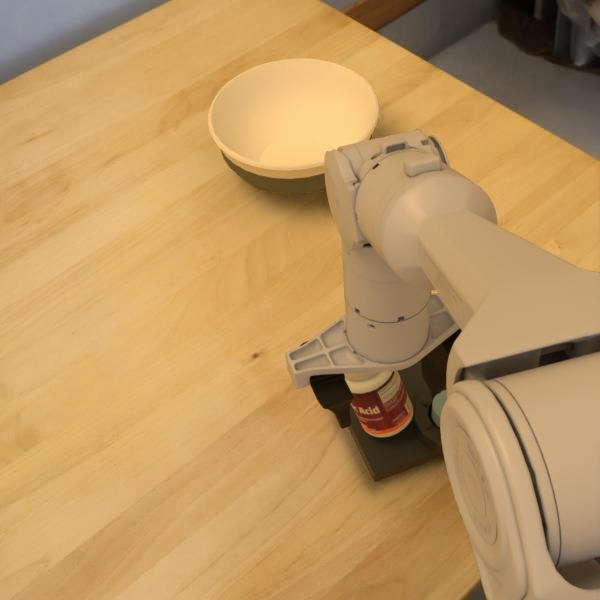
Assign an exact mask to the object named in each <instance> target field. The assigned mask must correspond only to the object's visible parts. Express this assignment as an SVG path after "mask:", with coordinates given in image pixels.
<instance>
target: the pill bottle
mask: <svg viewBox="0 0 600 600" xmlns="http://www.w3.org/2000/svg"><path fill="white" fill-rule="evenodd" d="M344 375H345V380H346V382H347V384H348V386H349V388H350V390H351V392H352V394H353V396H354V399H353V400H352V402H351V406H352V408H353V409H354V412H355V414H356V416H357V417H358V419H359V421H360V423H361V425H362V427H363V429H364V430H365V431H366V432H367V433H368V434H370V435H372V436H375V437H389V436H393V435H395V434H397V433H399V432H400V431H402V430H403V429H404V428H405V427H406V426H407V425H408V424H409V423H410V421H411V419H412V416H413V406H412V403H411V401H410V399H409V396H408V394H407V392H406V389H405V387H404V385H403V382H402V380H401V378H400V375H399V373H398V371H388V372H367V373H345V374H344Z"/></svg>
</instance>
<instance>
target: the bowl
mask: <svg viewBox="0 0 600 600" xmlns="http://www.w3.org/2000/svg"><path fill="white" fill-rule="evenodd" d="M380 111H381V106H380V102H379V97H378V95H377V93H376V91H375V89H374V88H373V86H372V85H371V84H370V83H369V82H368V80H367V79H365V77H363V76H362V75H361V74H360V73H358V72H356V71H355V70H353V69H351V68H349V67H347V66H345V65H343V64H341V63H336V62H333V61H330V60H325V59H318V58H313V57H312V58H311V57H310V58H309V57H308V58H306V57H304V58H302V57H295V58H294V57H293V58H285V59H278V60H274V61H269V62H265V63H262V64H259V65H256V66H253V67H250V68H248V69H247V70H244V71H243V72H241V73H239V74H237V75H236V76H234V77H233V78H232V79H230V80H229V81H227V82H226V83H225V85H224V86H222V87H221V89H220V90H219V91H218V92H217V93H216V95H215V96H214V98H213V100H212V102H211V103H210V106H209V110H208V113H207V127H208V130H209V134H210V137H211V138H212V140H213V141H214V142H215V144H216V146H217V147H218V148H219V149H220V152H221V155H222V158H223V160H224V162H225V163H226V164H227V166H228V168H230V169H231V170H232V171H233V172H234V173H235V174H236V175H237V176H238V177H240V179H242V180H243V181H244V182H245V183H247V184H249V185H251V186H252V187H253V188H256V189H259V190H262V191H264V192H268V193H272V194H273V193H274V194H279V195H305V194H311V193H314V192H319V191H322V190H326V185H325V169H324V157H325V153H326V151H331V150H333V149H335V150H337V149H338V147H341V146H345V145H349V144H354V143H358V142H363V141H367V140H372V139H373V133H374V131H375V129H376V127H377V125H378V122H379V119H380Z"/></svg>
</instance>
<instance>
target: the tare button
mask: <svg viewBox="0 0 600 600" xmlns="http://www.w3.org/2000/svg"><path fill="white" fill-rule="evenodd" d="M446 401H447V390H444V391H441V393H439V394H437V395H436V396H435V397H434V399H433V403H432V420H433V422H434V423H435V424H436V426H438V427H439V428H440V418H441V411H442V408H443V406H444V404H445V403H446Z"/></svg>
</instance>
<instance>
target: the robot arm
mask: <svg viewBox="0 0 600 600" xmlns="http://www.w3.org/2000/svg"><path fill="white" fill-rule="evenodd" d="M324 169H325V185H326V188H325V191H326V196H327V200H328V205H329V209H330V213H331V216H332V219H333V222H334V225H335V227H336V229H337V232H338V234H339V236H340V242H341V243H340V245H341V261H342V262H341V263H342V264H341V265H342V278H343V280H342V281H343V293H344V294H343V299H344V312H345V314H344V315H341V317H339V318H338V319H337V320H335V321H334V322H332V323H331V324H330V325H329V326H327V327H326V328H325V329H323V330H321V331H320V332H319V333H318V334H316V335H315V336H313V337H312V338H311V339H309V340H307V341H305V342H302V343H301V344H300V345H299V346H298V347H296V348H294V349H291V350H289V351H286V352H285V353H284V355H285V362H286V368H287V371H288V373H289V376H290V378H291V381H292V383H293V385H294V387H295V389H296V390H301V389H302V388H306V387H308V386H310V388H311V389H312V392H313V394H314V397H315V399H316V400H317V402H318V403H319V405H320V406H321V407H322V408H323V409H324V410H329V411H331V413H333V414H334V416H335V418H336V421H337V422H338V424H339V427H340V429H346V428H348V427H349V426H350V425H351V417H350V405H351V402H352V400H353V399H354V396H353V394H352V392H351V390H350V388H349V386H348V384H347V382H346V380H345V375H344V374H345V373H367V372H388V371H397V370H402V369H405V368H408V367H410V366H412V365H414V364H415V363H417V362H418V361H419V360H421V359H422V361H421V370H422V376H423V378H424V380H425V382H426V383H427V385H428V387H429V389H430V390H431V392H432V394H433V396H434V395H436V394H439V393H441V391H442V390H443V388H444V387H445V385H446V386H447V401H446V403H445V404H444V406H443V408H442V411H441V418H440V431H441V441H442V448H443V454H444V455H443V459H444V463H445V468H446V473H447V476H448V479H449V484H450V487H451V490H452V495H453V497H454V500H455V503H456V507H457V508H458V511H459V515H460V517H461V519H462V522H463V524H464V526H465V529H466V532H467V537H468V539H469V544H470V547H471V551H472V555H473V557H474V561H475V564H476V568H477V571H478V575H479V579H480V582H481V585H482V589H483V592H484V595H485V598H486V600H600V272H599V271H594V270H591V269H590V270H589V269H586V268H582V267H580V266H577V265H576V264H574V263H571V262H570V261H568V260H565V259H563V258H562V257H560V256H558V255H556V254H554V253H553V252H550V251H548V250H547V249H544V248H542V247H540V246H539V245H537V244H535V243H533V242H531V241H529V240H527V239H525V238H523V237H522V236H519V235H517V234H515V233H514V232H511V231H509V230H507V229H506V228H503V227H502V226H500V225H499V224H498V222H499V221H498V216H497V211H496V207H495V205H494V203H493V201H492V198H491V197H490V196H489V194H488V193H487V192H486V191H485V190H484V189H483V188H482V187H481V185H478V184H476V183H475V182H474V181H472V180H471V179H470V178H469V177H467V176H465V175H463V174H462V173H461V172H459V171H457V170H455V168H453V167H452V166H451V165H450V161H449V158H448V155H447V152H446V149H445V148H444V145H443V144H442V142H441V141H440V139H439V138H438V137H437V136H436V135H434V134H430V135H428V136H426V134H425V133H424V132H423V131H422V130H421V129H419V128H417V129H412V130H407V131H403V132H398V133H394V134H390V135H385V136H381V137H375V138H372V140H367V141H363V142H358V143H354V144H349V145H345V146H341V147H338V149H337V150H335V149H333V150H331V151H326V153H325V157H324ZM432 291H436V292H437V293H432Z"/></svg>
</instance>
